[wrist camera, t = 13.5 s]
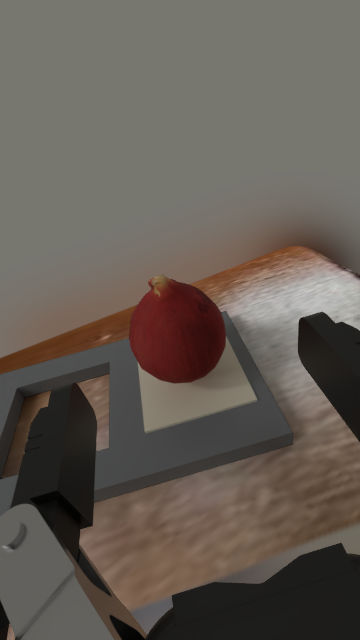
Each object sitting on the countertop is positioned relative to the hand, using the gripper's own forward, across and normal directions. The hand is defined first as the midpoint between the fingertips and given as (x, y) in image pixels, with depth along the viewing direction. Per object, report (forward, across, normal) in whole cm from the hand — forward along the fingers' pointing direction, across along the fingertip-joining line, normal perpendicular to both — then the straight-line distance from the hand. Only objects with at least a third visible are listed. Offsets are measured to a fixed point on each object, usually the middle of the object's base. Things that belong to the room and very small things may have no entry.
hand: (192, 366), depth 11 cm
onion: (+7, 0, +8) cm, 10 cm away
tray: (+7, +6, +9) cm, 13 cm away
